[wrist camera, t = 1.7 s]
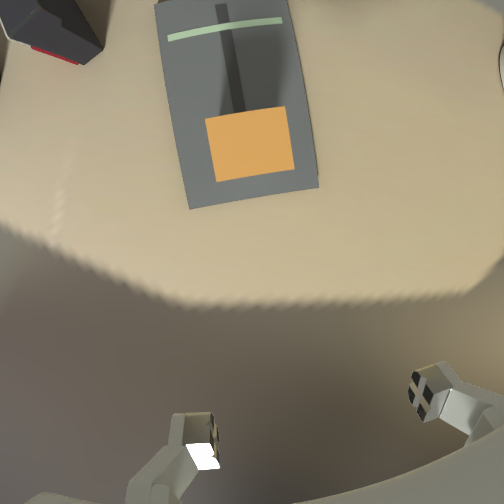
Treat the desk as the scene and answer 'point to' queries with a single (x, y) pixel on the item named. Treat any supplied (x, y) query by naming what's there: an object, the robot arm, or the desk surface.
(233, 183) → the fader console
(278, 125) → the fader knob
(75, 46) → the calculator
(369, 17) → the desk surface
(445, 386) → the robot arm
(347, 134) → the desk surface
